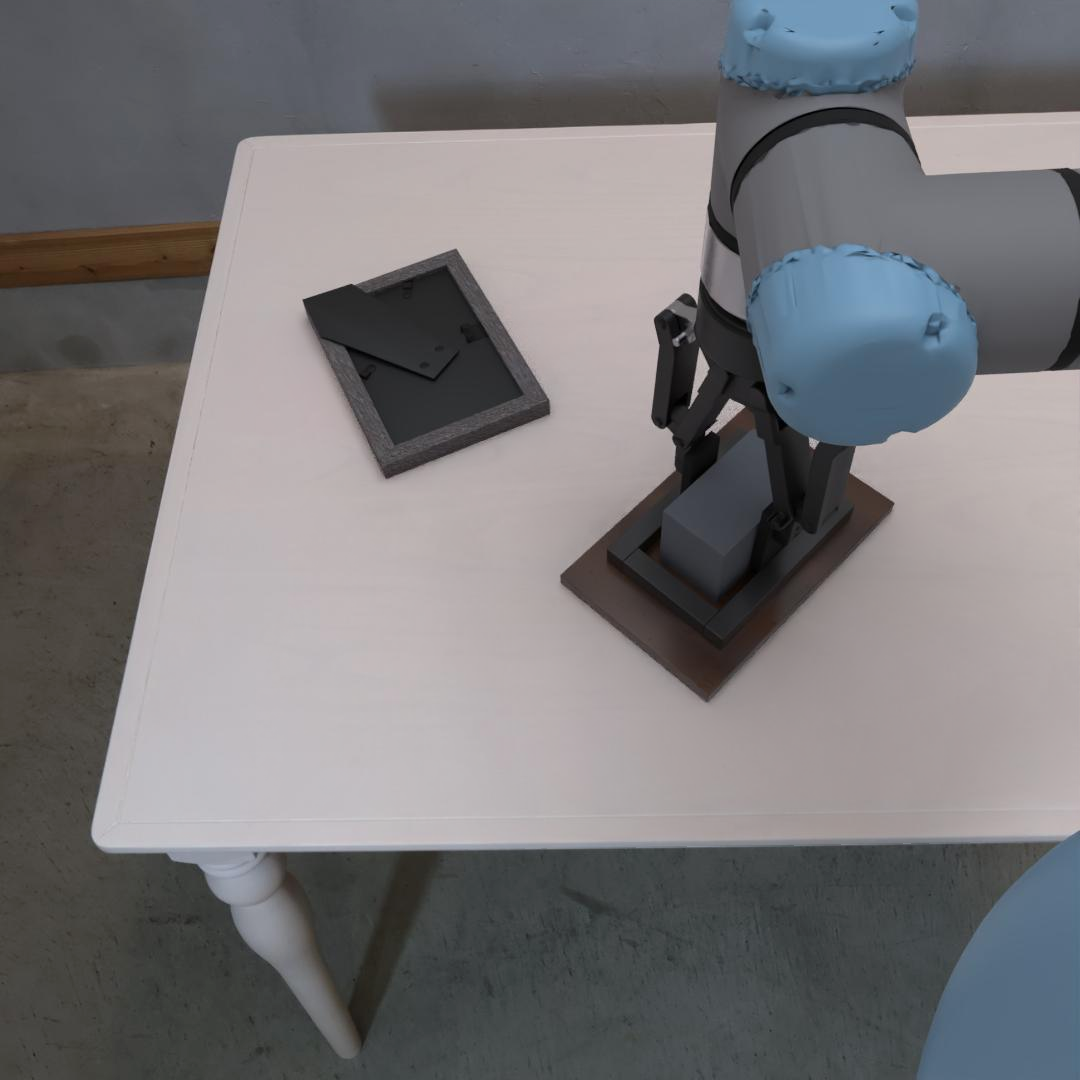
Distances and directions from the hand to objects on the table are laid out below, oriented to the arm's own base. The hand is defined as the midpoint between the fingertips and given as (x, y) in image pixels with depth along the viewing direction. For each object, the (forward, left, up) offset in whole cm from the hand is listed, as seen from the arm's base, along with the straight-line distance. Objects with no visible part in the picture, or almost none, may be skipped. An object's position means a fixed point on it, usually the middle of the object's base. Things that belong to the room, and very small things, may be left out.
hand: (730, 529), depth 76 cm
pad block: (0, 0, -1) cm, 1 cm away
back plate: (0, 0, -2) cm, 2 cm away
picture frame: (+28, +3, -2) cm, 28 cm away
